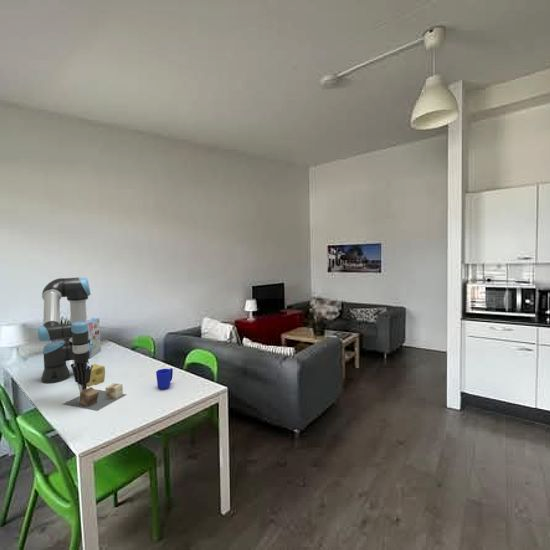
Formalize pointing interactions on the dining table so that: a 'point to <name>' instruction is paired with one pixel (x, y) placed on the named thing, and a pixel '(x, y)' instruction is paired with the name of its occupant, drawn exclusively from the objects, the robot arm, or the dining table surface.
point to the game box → (94, 335)
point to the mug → (164, 378)
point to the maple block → (114, 391)
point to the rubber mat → (96, 406)
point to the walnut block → (88, 396)
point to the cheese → (96, 375)
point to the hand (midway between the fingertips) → (83, 395)
